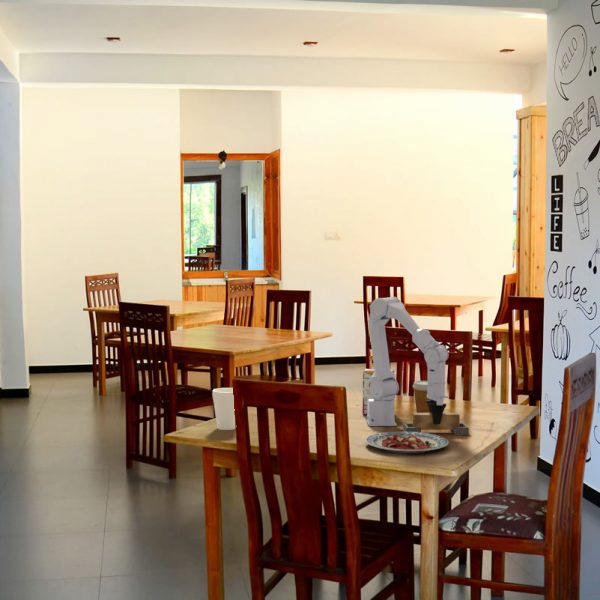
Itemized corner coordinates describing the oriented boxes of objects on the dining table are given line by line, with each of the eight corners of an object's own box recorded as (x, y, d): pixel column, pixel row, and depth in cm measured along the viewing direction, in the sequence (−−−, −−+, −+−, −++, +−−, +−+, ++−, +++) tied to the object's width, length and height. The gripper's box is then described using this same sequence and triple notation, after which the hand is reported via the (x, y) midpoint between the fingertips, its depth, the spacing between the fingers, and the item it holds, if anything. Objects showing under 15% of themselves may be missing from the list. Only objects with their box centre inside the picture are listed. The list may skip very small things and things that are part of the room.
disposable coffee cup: (437, 413, 340) (438, 380, 339) (439, 418, 330) (439, 385, 329) (411, 412, 341) (412, 380, 340) (412, 417, 331) (412, 384, 330)
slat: (414, 429, 304) (414, 414, 304) (412, 427, 308) (412, 412, 307) (459, 429, 305) (459, 414, 304) (457, 427, 308) (457, 412, 308)
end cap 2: (454, 435, 303) (454, 427, 303) (449, 430, 310) (450, 423, 310) (468, 435, 303) (468, 427, 303) (464, 430, 310) (464, 422, 310)
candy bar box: (362, 415, 335) (362, 370, 334) (363, 412, 340) (364, 368, 339) (393, 416, 333) (393, 371, 332) (394, 413, 338) (394, 369, 337)
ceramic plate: (354, 453, 280) (354, 443, 279) (377, 435, 304) (377, 426, 303) (439, 460, 271) (439, 450, 270) (455, 441, 295) (455, 432, 294)
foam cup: (215, 425, 318) (215, 387, 317) (242, 425, 318) (241, 387, 317) (211, 430, 309) (210, 392, 308) (238, 431, 308) (238, 392, 307)
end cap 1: (406, 435, 303) (406, 427, 302) (403, 430, 310) (403, 423, 310) (420, 435, 303) (421, 427, 302) (417, 430, 310) (417, 423, 310)
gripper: (452, 385, 298) (452, 427, 299) (444, 378, 313) (443, 418, 314) (430, 385, 298) (430, 427, 299) (423, 378, 312) (423, 418, 313)
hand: (435, 422), depth 306 cm, fingers closed on slat, 3 cm apart
